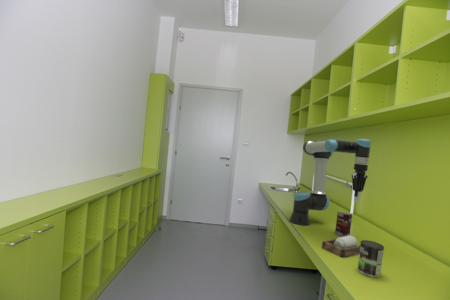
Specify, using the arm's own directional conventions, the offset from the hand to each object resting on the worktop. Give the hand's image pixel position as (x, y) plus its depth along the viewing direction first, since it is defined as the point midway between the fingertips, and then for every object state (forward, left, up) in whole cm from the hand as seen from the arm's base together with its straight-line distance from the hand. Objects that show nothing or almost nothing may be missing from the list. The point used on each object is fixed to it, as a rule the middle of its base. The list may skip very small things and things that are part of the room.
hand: (356, 201), depth 167 cm
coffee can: (+26, -25, -28) cm, 46 cm away
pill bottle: (+2, -4, -24) cm, 25 cm away
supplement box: (-15, +13, -28) cm, 35 cm away
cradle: (+3, -12, -28) cm, 31 cm away
